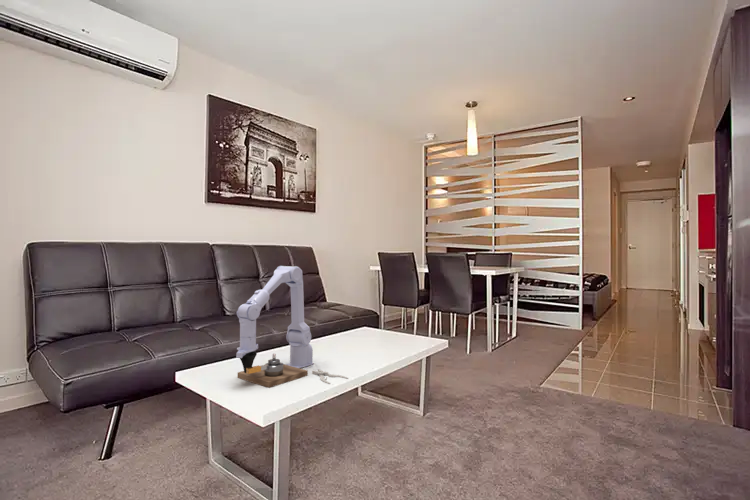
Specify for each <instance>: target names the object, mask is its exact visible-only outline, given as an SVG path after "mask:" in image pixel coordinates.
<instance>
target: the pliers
mask: <svg viewBox="0 0 750 500" xmlns="http://www.w3.org/2000/svg"><path fill="white" fill-rule="evenodd" d="M311 373H312V375H314V376H319V377H320V379H319V380H320V381H321V382H322V383H324V384H327V385H331V382H329V381H327V380H328V378H342V379H346V380H349V377H347V376H344V375H340V374H334V373H333V374H330V373H329V372H328V371H323V370H321V369H317V370H312V371H311ZM325 377H326V378H325Z"/></svg>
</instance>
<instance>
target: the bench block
mask: <svg viewBox="0 0 750 500" xmlns="http://www.w3.org/2000/svg"><path fill="white" fill-rule="evenodd" d="M264 371H265V370H261V371H260V372H255V373H251V374H248V373H245V372H244V370H242V371H238V372H237V378H238V379H240V380H244V381H247V382H249V383H252V384H256V385H259V386H262V387H265V388H269V389H270V388H273V387H276V386H279V385H282V384H285V383H288V382H292V381H295V380H299V379H301V378H304V377H307V376H309V374H308V372H309V371H308V370H306V369H303V368H296V367H292V366H288V365H286V364H284V363H283V374H282V375H279V376H266V375H265V374H264Z"/></svg>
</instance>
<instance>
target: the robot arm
mask: <svg viewBox="0 0 750 500" xmlns="http://www.w3.org/2000/svg"><path fill="white" fill-rule="evenodd" d="M284 283H285V284H286V285H287V286H289V288H290V305H291V306H290V314H291V315H290V316H291V317H290V318H291V323H290V324H289V325H288V326H287V333H286V337H285V338H286V341H287V342H288V345H289V346H290V348H289V355H290V356H289V363H286V364H285V365H288V366H292V367H296V368H300V369H303V368H305V367H308V366H312V365H314V364H315V363H314V362H313V355H314V354H313V346H312V344H310V343H311V340H312V333H311V329H310V326H309V325H308V324H307V323H306V322H305V306H304V305H305V303H304V301H305V298H304V295H305V294H304V278H303V270H302V269H301V267H300V266H297V265H295V266H291V265H290V266H288V265H287V266H286V265H279V266H277V267H276V269H275V270H274V271H273V275H272V276H271V277H270V278H269V280H268V281H267V282H266V284H265V285H264V287H263V288H262V289H257V290H255V291H254V294H252V296H251V297H249V299H247V300H246V302H245V303H243V304H241V305H240V306H238V308H237V311H236V316H237V318H238V322H239V347H237V348H236V350H237V352H236V353H235V354H236V356H235V357H236V359H240V361H241V364H242V367H243V371H244V372H245V373H246V368H249V367H253V366H254V364H253V363H254V361H255V359H256V357H257V352H256V351H257V350H258V349H259V343H257V319H258V318H259V317H260V313H261V311H262V308H263V307H264V306H265V305H266V304H267V303H268V301H269V300H270V295H271V294H272V293H273V292H274V291H275V290H276V289H277V288H278V287H279V286H280V285H281V284H284Z"/></svg>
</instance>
